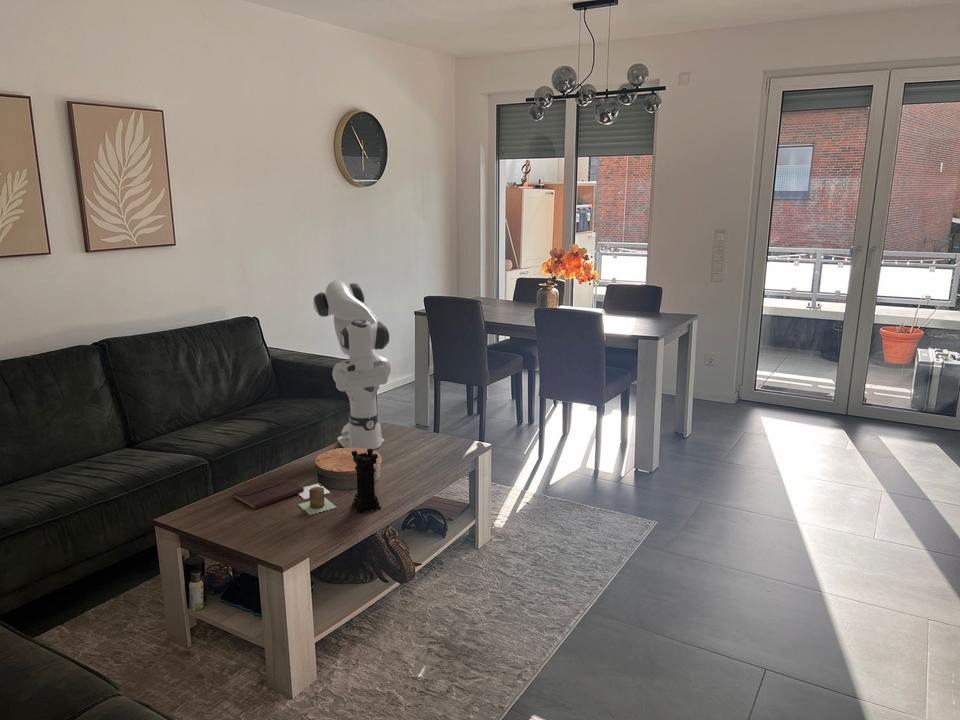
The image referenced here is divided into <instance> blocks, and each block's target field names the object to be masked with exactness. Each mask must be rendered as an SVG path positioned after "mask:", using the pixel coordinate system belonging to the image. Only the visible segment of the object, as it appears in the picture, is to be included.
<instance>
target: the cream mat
mask: <svg viewBox="0 0 960 720" xmlns="http://www.w3.org/2000/svg"><path fill="white" fill-rule="evenodd" d="M319 484H320V483H315V484H311V485H307V486H302V487H303V488H304V491H303V492H300V493H298V494H297V495H298V496H299V497H300V496H301V497H300V498H302V500H304V501H305V499H306V500H310V499H309V498H310V496H309V490H310V489H311V488H313V487H322V488H324V496H325V495H329V494H331V491H329V490H328V489H327V488H326V487H324V486H323V485H322V486H320V485H321V484H320V485H319Z"/></svg>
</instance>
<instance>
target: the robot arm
mask: <svg viewBox="0 0 960 720" xmlns="http://www.w3.org/2000/svg"><path fill="white" fill-rule="evenodd" d="M365 296H366V295H365V291H364V290H363V288H362V286H361V285H360V284H358V283H349V284H346V282H344V281H343V280H339V279H336V280H332V281H331V282H329V283H328V285H327V286H326V288H325V290H324V291H323V292H319V293H317V294H315V296H314V297H313V301H312V303H313V308H314V310H315V313H317V314H318V315H319V316H320V317H323V318H324V317H329V316H332V315H333V324H334V325H333V326H334V332H335V334H336V338H337V340H338V344H339V347H340V350H341V351H342V353H343V354H345V355H346V356H349V358H347V359H346V360H343V361H339V362H337V363H335V365H334V366H333V369H332V372H331V374H332V375H331V376H332V378H333V380H334V382H335V387H336V389H337V390H338V391H340V392H345V394H346V395H347V396H348V401H349V406H350V413H348V414H349V415H348V417H349V418H348V419H349V420H348V422H347V424H346V425H344V426H343V427H342V430H341V435H340V436H338V437H337V441H338V442H339V444H340V445H341V447H342V448H343V447H361V448H368V449H371V448H372V449H373V450H377V449H379V448H380V447H381V446H382V445H383V444H384V443H385V438H383V437H382V436H383V435H382V427H381V423H378V422H379V415H378V413H377V409H378V408H377V398H376V397H377V395H378V394H377V393H378V391H379V389H380V386H381V385H386V384H387V383H388V382H389V381H388V378H389V377H390V375H391V373H392V365H391V362H390V361H389V359H388V358H386V356H383V355H380V354H379V353H377V352H376V351H375V350H383V349H384V348H385V347H387V346H388V344H389V343H390V332H389V330H388V328H387V327H386V325H384V324H383V323H382V322H381V321H380V320H379V318H378V317H377V315H375V313H374V312H373V311H372V309H371V308H370V306H369V305H368V304H366V303H365V298H366V297H365ZM372 387H373V390H372V391H368V390H365V388H372Z"/></svg>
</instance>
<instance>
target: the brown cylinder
mask: <svg viewBox="0 0 960 720" xmlns="http://www.w3.org/2000/svg"><path fill="white" fill-rule="evenodd" d="M324 488H325V487H324ZM324 488H322V487H313V488H311V489H310V490H309V496H310V499H309V501H310V507H311V508H313V509H319V508H322V507H324V506H325V502H324V497H325V495H324Z"/></svg>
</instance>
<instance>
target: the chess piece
mask: <svg viewBox="0 0 960 720" xmlns="http://www.w3.org/2000/svg"><path fill="white" fill-rule="evenodd" d="M378 455H379V454H378V453H374V449H372V448H371V449H367V451H366V452H363V453H358V451H357V450H351V456H352V458H353V459H352V460H353V462H354V463H355V464H356V466H354V469H355V472H356V487H357V488H356V490H357V491H356V494H354V498H353V502H351V505H352V506H353V508H354V507H355V508H354V509H355V510H357V511H356V513H357V514H363V513H362V512H364V513H367V512H366V511H369V512H372V511H371V510H374V511H377V510H376V509H380V510H381V509H382V508H381V506H380V502H379V499H378V496H377V495H376V494H375V493H376V492H375V473H376V469H375V466H374V465H377V464H378V463H377V459H378V458H379V456H378Z"/></svg>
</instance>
